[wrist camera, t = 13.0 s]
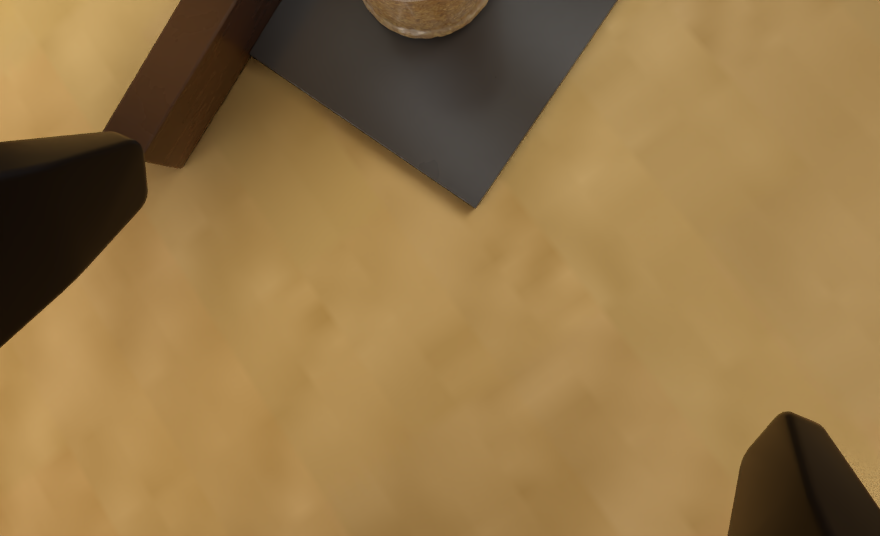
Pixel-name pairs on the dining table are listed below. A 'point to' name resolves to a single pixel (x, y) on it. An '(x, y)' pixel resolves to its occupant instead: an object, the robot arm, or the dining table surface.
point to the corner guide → (367, 77)
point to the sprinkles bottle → (425, 15)
